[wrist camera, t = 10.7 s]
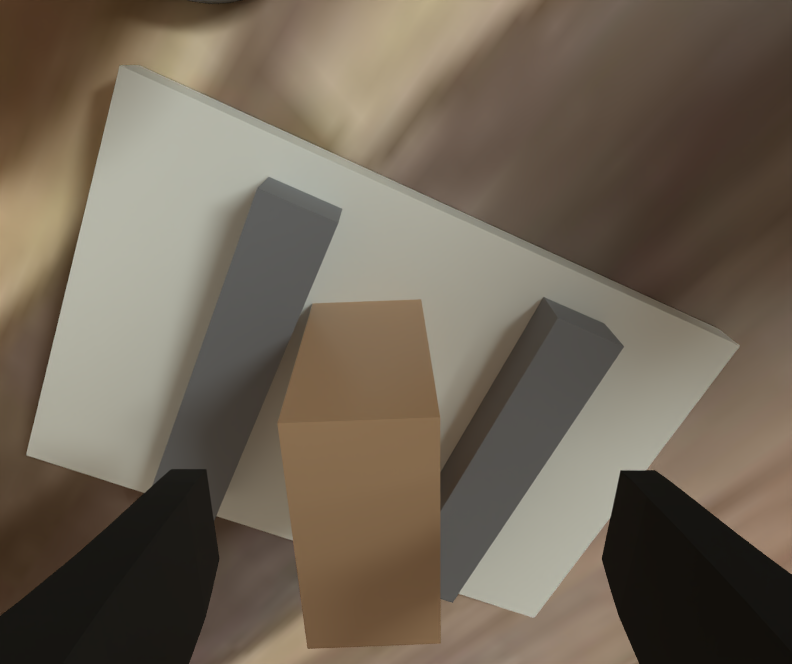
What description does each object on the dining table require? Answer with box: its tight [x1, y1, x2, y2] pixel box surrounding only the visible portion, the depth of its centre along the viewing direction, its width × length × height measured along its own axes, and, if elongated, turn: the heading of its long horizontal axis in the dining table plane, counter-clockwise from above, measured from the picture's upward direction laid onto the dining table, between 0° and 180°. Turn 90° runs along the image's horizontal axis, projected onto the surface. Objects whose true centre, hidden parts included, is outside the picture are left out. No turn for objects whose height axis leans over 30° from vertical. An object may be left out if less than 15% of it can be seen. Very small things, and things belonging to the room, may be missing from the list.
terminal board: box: [26, 65, 740, 618], centre depth 18 cm, size 18×12×3 cm, turn 66°
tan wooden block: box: [277, 299, 441, 649], centre depth 15 cm, size 3×6×6 cm, turn 2°
